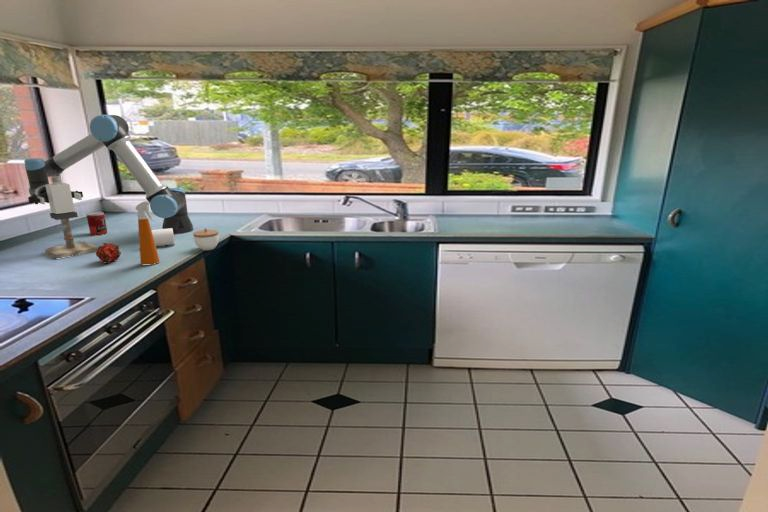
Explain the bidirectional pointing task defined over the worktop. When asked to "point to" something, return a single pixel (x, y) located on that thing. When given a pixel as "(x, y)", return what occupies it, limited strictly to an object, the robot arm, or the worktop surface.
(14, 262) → the worktop surface
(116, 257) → the dragon fruit
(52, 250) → the pipe stand
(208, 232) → the lidded jar
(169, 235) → the mug
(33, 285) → the worktop surface
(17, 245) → the worktop surface
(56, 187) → the sleeve
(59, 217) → the thin dark grey plate
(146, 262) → the spray bottle
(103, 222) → the canned food
